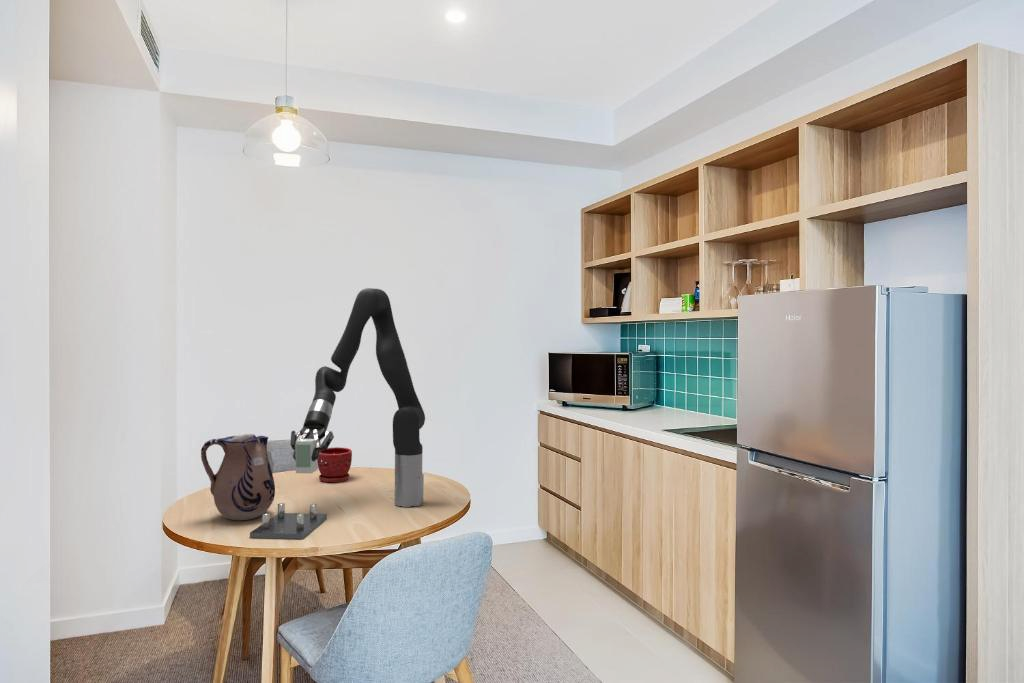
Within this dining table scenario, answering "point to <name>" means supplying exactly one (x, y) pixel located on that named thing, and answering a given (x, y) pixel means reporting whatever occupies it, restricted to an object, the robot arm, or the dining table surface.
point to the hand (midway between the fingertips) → (304, 459)
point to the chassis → (288, 524)
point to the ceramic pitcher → (241, 477)
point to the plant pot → (334, 464)
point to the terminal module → (305, 456)
